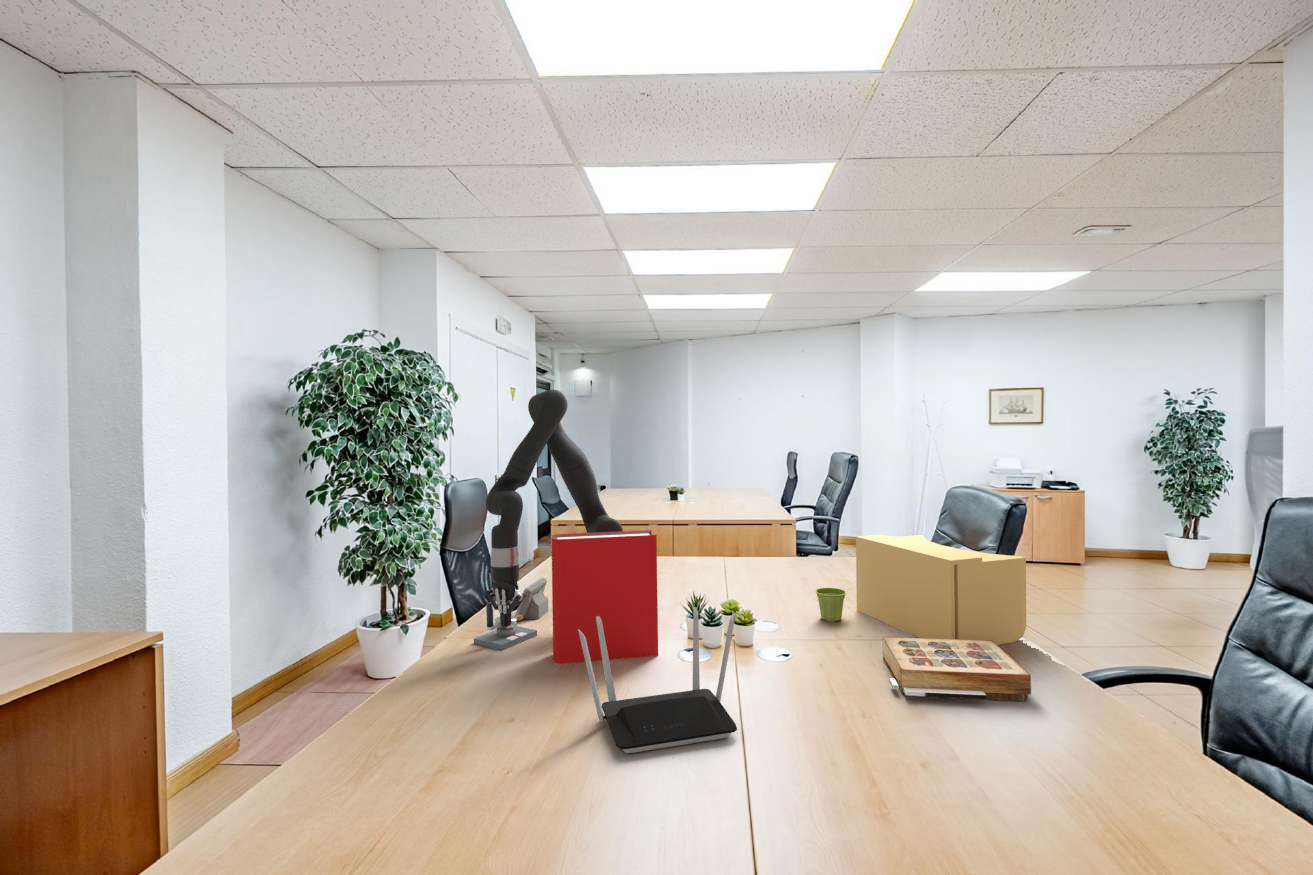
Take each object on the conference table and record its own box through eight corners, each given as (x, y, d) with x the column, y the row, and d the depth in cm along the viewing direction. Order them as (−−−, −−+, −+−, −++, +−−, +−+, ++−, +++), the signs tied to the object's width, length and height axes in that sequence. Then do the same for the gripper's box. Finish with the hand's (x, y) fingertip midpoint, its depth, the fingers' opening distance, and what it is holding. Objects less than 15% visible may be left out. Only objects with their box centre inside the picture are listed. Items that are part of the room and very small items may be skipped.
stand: (537, 635, 176) (536, 622, 176) (501, 650, 164) (501, 636, 164) (509, 629, 182) (509, 617, 182) (473, 643, 170) (473, 630, 170)
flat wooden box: (896, 703, 130) (1037, 710, 125) (895, 674, 130) (1036, 680, 125) (874, 661, 154) (992, 665, 149) (874, 636, 154) (991, 640, 149)
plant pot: (814, 622, 184) (814, 594, 184) (816, 613, 193) (815, 586, 193) (846, 624, 182) (846, 596, 182) (846, 615, 191) (846, 588, 191)
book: (652, 645, 166) (651, 530, 166) (658, 655, 158) (656, 534, 158) (553, 653, 161) (551, 534, 161) (553, 664, 154) (551, 539, 153)
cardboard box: (856, 610, 196) (855, 536, 196) (921, 602, 204) (920, 531, 204) (951, 652, 158) (950, 560, 158) (1026, 640, 166) (1025, 553, 166)
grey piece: (528, 621, 176) (528, 594, 176) (495, 634, 165) (494, 605, 165) (513, 618, 179) (513, 591, 179) (480, 630, 168) (479, 602, 168)
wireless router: (590, 764, 107) (588, 652, 106) (572, 707, 129) (571, 615, 129) (763, 736, 116) (762, 632, 116) (719, 687, 138) (718, 601, 138)
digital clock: (534, 606, 205) (534, 575, 205) (557, 609, 202) (556, 577, 202) (506, 620, 190) (505, 587, 190) (530, 623, 187) (530, 589, 187)
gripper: (532, 562, 164) (533, 626, 164) (497, 558, 171) (498, 618, 171) (512, 568, 157) (513, 634, 157) (477, 563, 164) (478, 626, 164)
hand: (505, 626), depth 164 cm, fingers closed
